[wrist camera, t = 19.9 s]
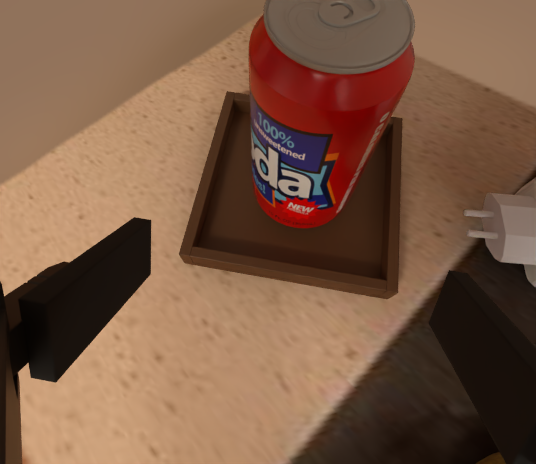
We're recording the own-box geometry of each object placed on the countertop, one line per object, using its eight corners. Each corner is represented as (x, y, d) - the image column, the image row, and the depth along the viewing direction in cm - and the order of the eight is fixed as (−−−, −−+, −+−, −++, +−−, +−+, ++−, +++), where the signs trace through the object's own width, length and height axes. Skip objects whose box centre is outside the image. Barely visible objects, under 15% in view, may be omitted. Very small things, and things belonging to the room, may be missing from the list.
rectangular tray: (184, 263, 26) (178, 254, 24) (228, 108, 32) (226, 90, 30) (387, 299, 26) (398, 293, 24) (393, 133, 32) (402, 118, 30)
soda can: (366, 205, 28) (471, 37, 14) (284, 250, 26) (313, 109, 12) (313, 137, 30) (359, -62, 17) (235, 174, 29) (214, -13, 15)
